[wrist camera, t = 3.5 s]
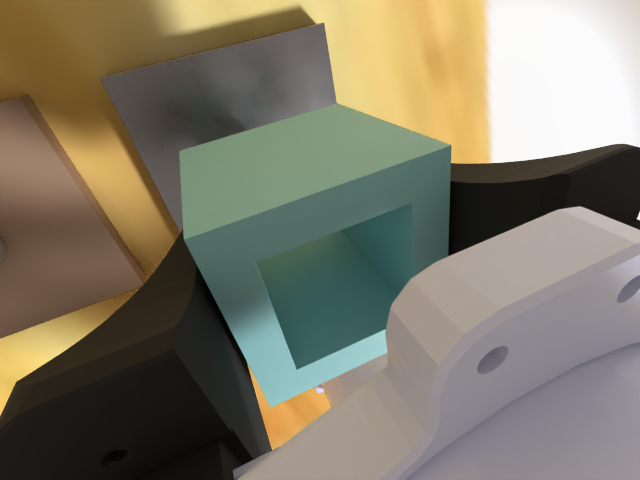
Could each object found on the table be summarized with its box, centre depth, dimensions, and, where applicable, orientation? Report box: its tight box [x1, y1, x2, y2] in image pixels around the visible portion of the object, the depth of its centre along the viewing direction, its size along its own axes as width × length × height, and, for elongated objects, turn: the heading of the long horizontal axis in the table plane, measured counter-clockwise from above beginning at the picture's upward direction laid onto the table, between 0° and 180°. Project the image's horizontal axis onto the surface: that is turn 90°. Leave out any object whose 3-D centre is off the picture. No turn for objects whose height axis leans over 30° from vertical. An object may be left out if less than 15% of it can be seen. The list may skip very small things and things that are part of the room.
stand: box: [100, 23, 337, 233], centre depth 16 cm, size 10×10×6 cm
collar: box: [179, 103, 451, 407], centre depth 10 cm, size 6×6×6 cm
